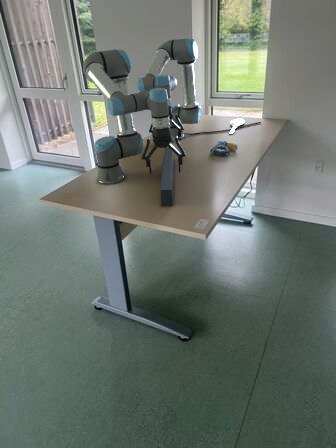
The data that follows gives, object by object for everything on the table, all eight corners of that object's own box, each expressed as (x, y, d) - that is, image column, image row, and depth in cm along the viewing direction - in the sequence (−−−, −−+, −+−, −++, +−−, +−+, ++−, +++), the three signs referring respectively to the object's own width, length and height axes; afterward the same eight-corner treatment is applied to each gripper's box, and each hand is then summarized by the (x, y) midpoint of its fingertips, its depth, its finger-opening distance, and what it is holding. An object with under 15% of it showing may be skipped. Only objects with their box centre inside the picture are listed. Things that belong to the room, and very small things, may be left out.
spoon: (237, 136, 244) (237, 133, 243) (223, 136, 248) (223, 133, 247) (246, 120, 270) (246, 118, 269) (232, 120, 274) (232, 117, 273)
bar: (165, 161, 209) (164, 147, 205) (173, 160, 209) (172, 147, 204) (161, 206, 158) (160, 190, 154) (172, 205, 158) (171, 189, 154)
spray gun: (240, 146, 220) (218, 145, 226) (240, 140, 217) (218, 139, 224) (230, 158, 204) (207, 156, 211) (230, 151, 202) (207, 150, 208)
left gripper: (131, 131, 143) (138, 176, 154) (190, 126, 141) (192, 173, 152) (133, 126, 149) (139, 170, 160) (189, 122, 148) (191, 167, 159)
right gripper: (141, 108, 183) (145, 146, 193) (187, 105, 181) (188, 143, 192) (142, 105, 189) (146, 142, 200) (186, 102, 188) (188, 139, 198)
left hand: (165, 172), depth 156 cm, fingers open, 13 cm apart
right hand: (167, 143), depth 196 cm, fingers open, 13 cm apart
